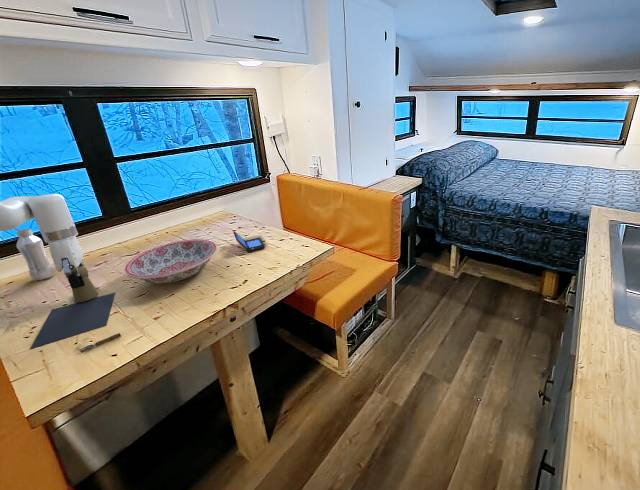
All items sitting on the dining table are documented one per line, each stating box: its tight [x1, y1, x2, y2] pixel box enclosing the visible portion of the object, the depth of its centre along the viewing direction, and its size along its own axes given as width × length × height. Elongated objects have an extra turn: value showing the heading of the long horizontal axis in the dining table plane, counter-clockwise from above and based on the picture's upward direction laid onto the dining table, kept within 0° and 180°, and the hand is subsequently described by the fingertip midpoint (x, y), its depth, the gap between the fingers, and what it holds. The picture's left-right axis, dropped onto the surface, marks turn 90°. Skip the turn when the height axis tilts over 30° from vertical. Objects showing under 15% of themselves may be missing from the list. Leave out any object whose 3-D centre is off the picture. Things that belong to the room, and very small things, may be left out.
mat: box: [29, 292, 116, 350], centre depth 95 cm, size 16×20×1 cm
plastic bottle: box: [15, 228, 56, 281], centre depth 114 cm, size 6×7×20 cm
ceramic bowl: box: [124, 238, 218, 284], centre depth 116 cm, size 29×29×8 cm
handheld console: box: [232, 230, 266, 254], centre depth 137 cm, size 12×11×7 cm
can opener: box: [77, 332, 122, 353], centre depth 84 cm, size 9×2×1 cm, turn 126°
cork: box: [65, 266, 99, 303], centre depth 102 cm, size 6×6×11 cm
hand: (80, 282), depth 102 cm, fingers closed on cork, 5 cm apart
